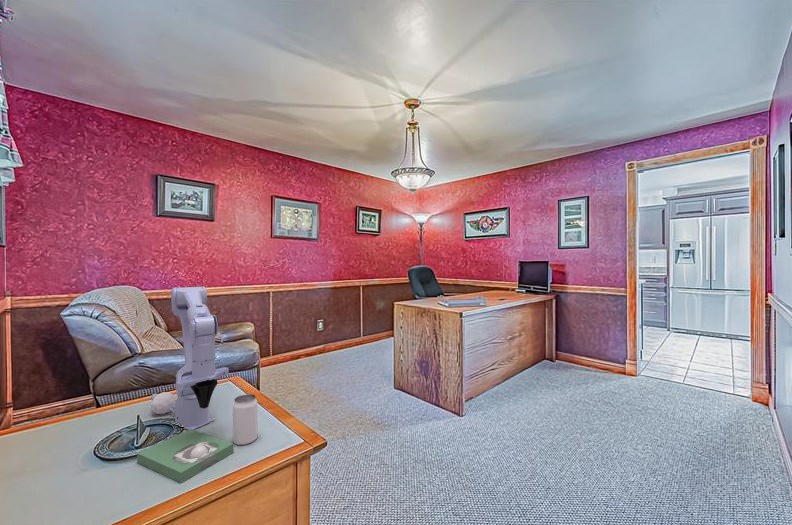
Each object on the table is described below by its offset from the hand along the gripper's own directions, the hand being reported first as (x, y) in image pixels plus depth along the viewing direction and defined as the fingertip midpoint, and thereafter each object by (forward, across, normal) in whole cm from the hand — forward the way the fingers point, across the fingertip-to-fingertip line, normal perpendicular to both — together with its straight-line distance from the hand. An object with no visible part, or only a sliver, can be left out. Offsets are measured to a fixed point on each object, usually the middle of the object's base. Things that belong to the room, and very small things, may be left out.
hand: (204, 407), depth 98 cm
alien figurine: (+10, +6, +29) cm, 31 cm away
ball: (+8, -7, -8) cm, 13 cm away
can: (+10, +6, -9) cm, 15 cm away
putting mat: (+10, -7, -3) cm, 12 cm away
